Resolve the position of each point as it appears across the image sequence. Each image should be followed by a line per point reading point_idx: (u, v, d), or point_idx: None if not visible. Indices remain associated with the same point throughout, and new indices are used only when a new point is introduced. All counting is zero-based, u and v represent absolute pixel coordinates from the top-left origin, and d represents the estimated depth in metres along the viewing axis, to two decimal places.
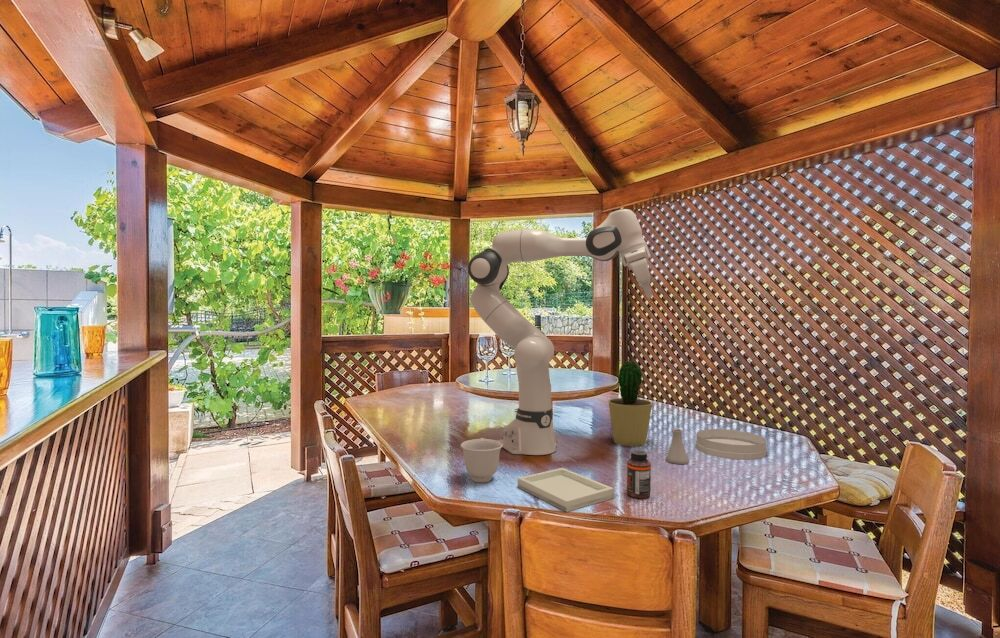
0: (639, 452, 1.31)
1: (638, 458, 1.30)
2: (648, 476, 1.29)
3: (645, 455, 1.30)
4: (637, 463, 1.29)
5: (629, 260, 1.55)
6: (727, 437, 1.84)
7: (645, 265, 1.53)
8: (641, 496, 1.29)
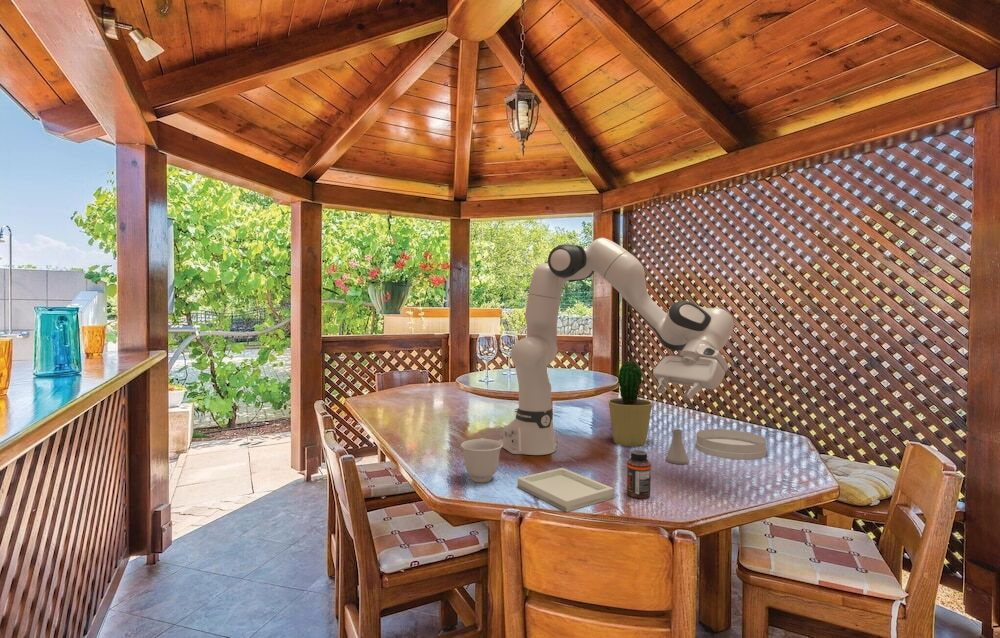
0: (639, 452, 1.31)
1: (638, 458, 1.30)
2: (648, 476, 1.29)
3: (645, 455, 1.30)
4: (637, 463, 1.29)
5: (718, 357, 1.33)
6: (727, 437, 1.84)
7: (723, 376, 1.33)
8: (641, 496, 1.29)
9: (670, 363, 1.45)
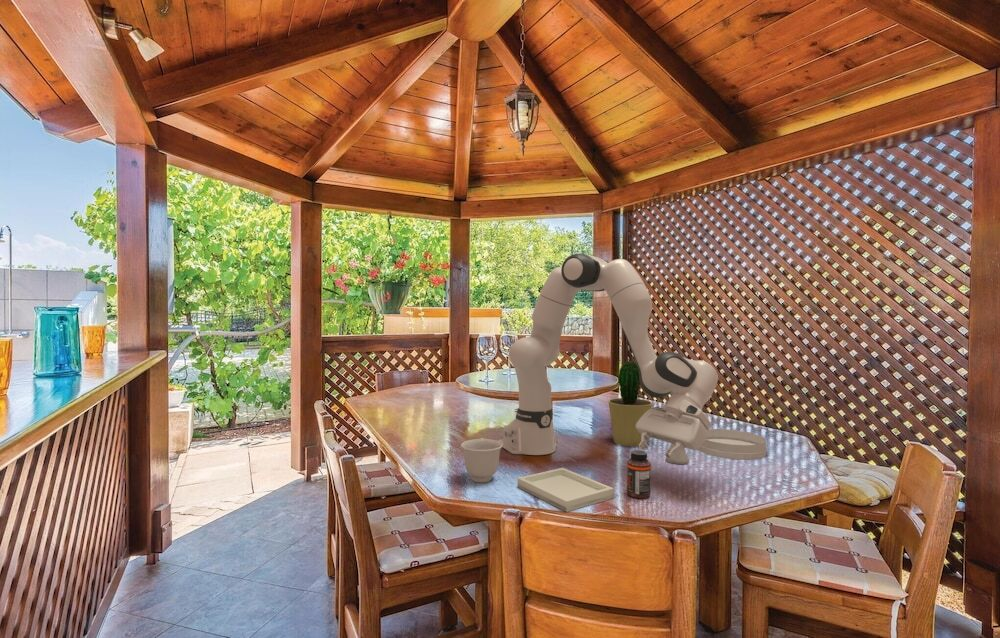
0: (639, 452, 1.31)
1: (638, 458, 1.30)
2: (648, 476, 1.29)
3: (645, 455, 1.30)
4: (637, 463, 1.29)
5: (700, 416, 1.30)
6: (727, 437, 1.84)
7: (705, 436, 1.30)
8: (641, 496, 1.29)
9: (653, 417, 1.42)
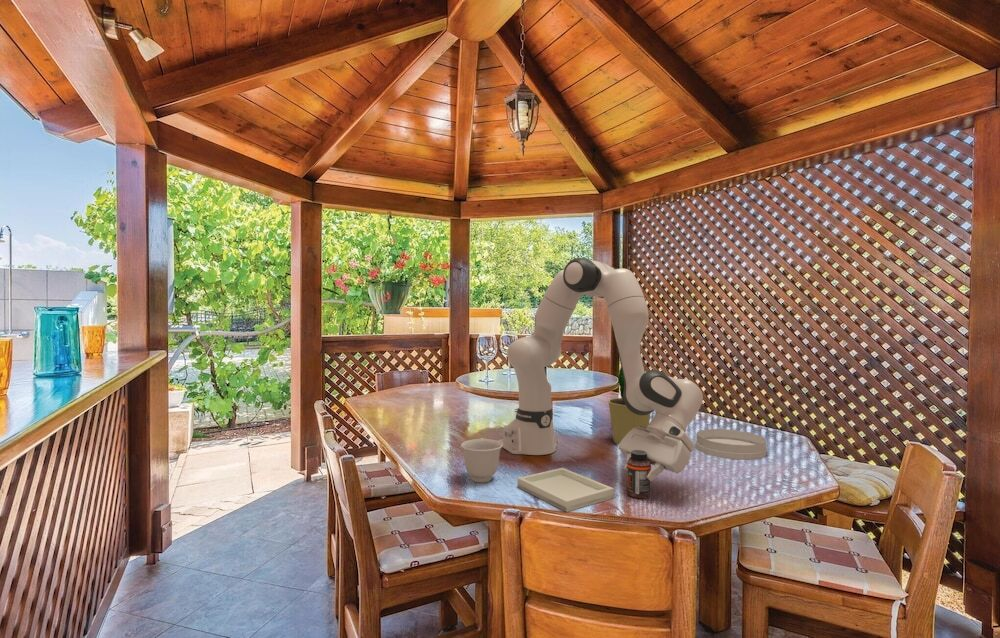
0: (639, 452, 1.31)
1: (638, 458, 1.30)
2: None
3: (645, 455, 1.30)
4: (637, 463, 1.29)
5: (683, 438, 1.27)
6: (727, 437, 1.84)
7: (688, 459, 1.27)
8: (641, 496, 1.29)
9: (636, 437, 1.39)
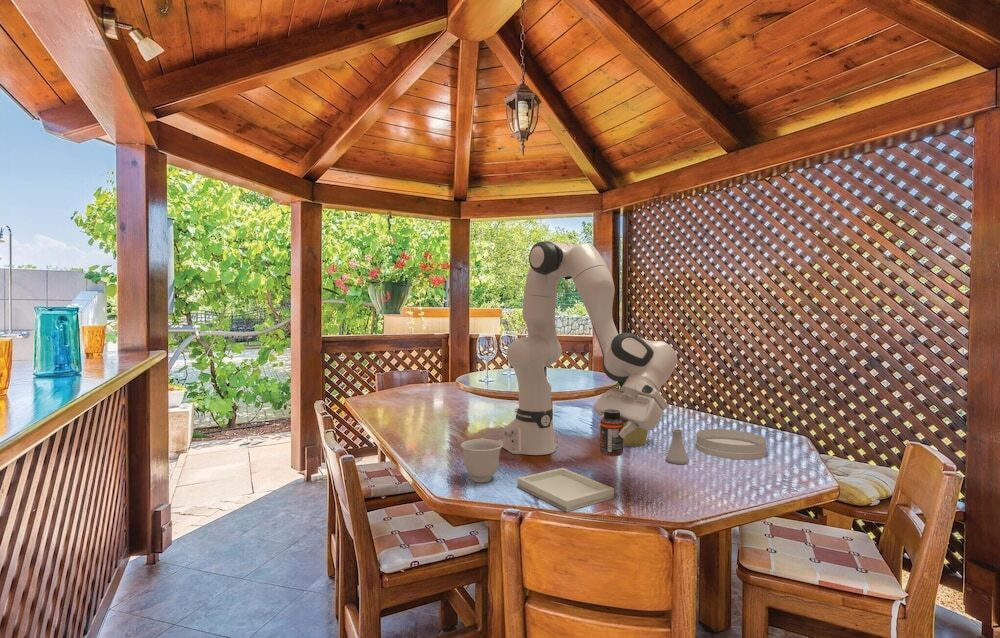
0: (612, 410, 1.32)
1: (610, 417, 1.30)
2: None
3: (618, 413, 1.30)
4: (609, 421, 1.30)
5: (655, 396, 1.28)
6: (727, 437, 1.84)
7: (660, 416, 1.27)
8: (613, 454, 1.29)
9: (611, 398, 1.39)
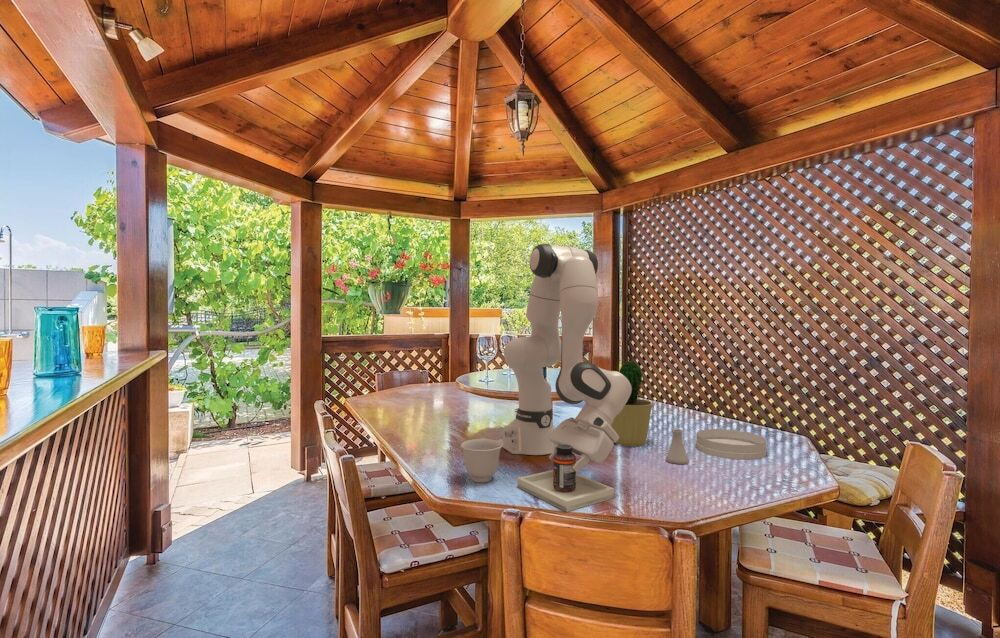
0: (564, 446, 1.33)
1: (562, 452, 1.31)
2: (572, 470, 1.31)
3: (570, 449, 1.31)
4: (561, 457, 1.31)
5: (606, 428, 1.29)
6: (727, 437, 1.84)
7: (610, 449, 1.28)
8: (565, 490, 1.30)
9: (566, 428, 1.40)
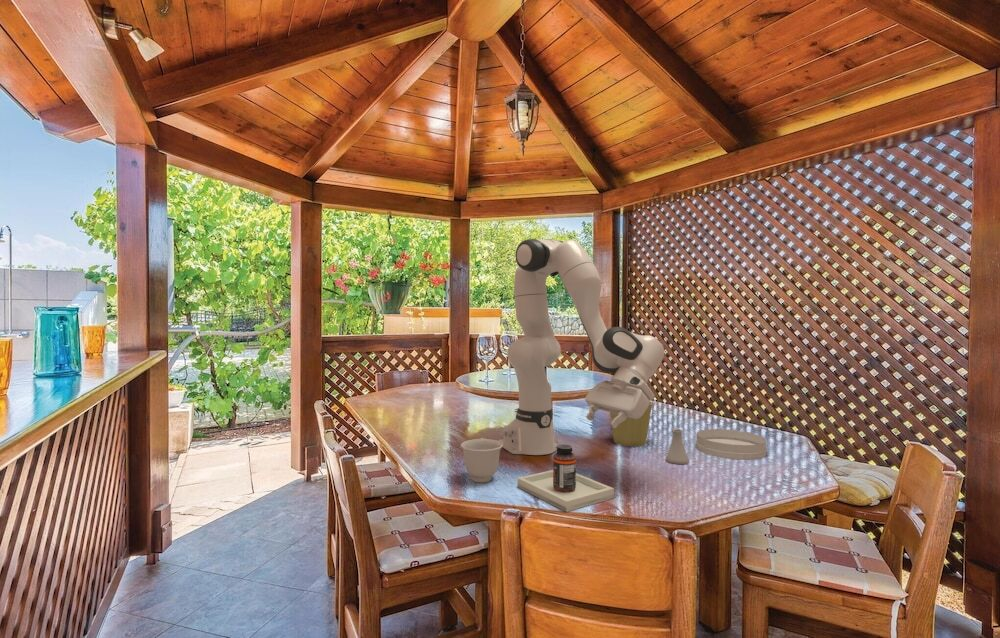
0: (564, 446, 1.33)
1: (562, 452, 1.31)
2: (572, 470, 1.31)
3: (570, 449, 1.31)
4: (561, 457, 1.31)
5: (642, 386, 1.35)
6: (727, 437, 1.84)
7: (647, 406, 1.34)
8: (565, 490, 1.30)
9: (601, 390, 1.47)
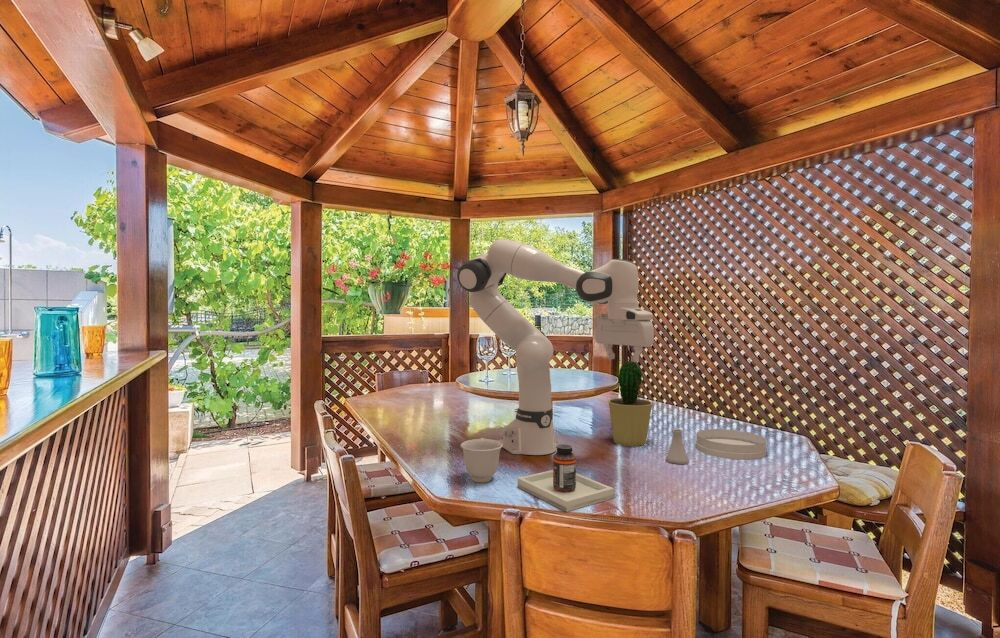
0: (564, 446, 1.33)
1: (562, 452, 1.31)
2: (572, 470, 1.31)
3: (570, 449, 1.31)
4: (561, 457, 1.31)
5: (640, 318, 1.42)
6: (727, 437, 1.84)
7: (652, 329, 1.43)
8: (565, 490, 1.30)
9: (605, 328, 1.54)
